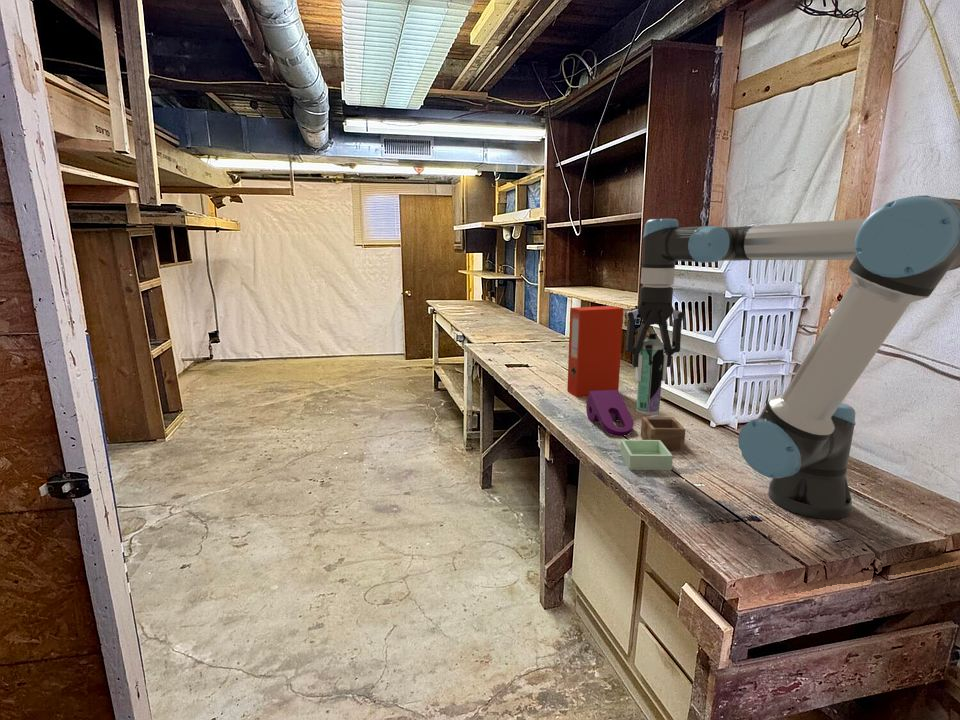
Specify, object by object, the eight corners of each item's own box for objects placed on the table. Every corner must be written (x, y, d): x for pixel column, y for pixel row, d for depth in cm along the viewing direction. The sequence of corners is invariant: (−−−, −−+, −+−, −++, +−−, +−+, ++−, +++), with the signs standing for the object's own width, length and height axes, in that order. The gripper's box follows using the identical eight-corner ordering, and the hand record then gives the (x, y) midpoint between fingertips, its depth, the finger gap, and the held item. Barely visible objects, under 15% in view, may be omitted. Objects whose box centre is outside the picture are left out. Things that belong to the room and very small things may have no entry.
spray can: (660, 415, 127) (666, 335, 122) (637, 414, 128) (642, 334, 123) (657, 408, 132) (663, 331, 127) (635, 407, 133) (640, 331, 128)
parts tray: (671, 470, 127) (672, 455, 127) (629, 469, 128) (630, 455, 127) (659, 453, 138) (660, 440, 137) (619, 453, 138) (620, 439, 137)
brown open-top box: (683, 450, 139) (685, 429, 138) (650, 449, 140) (651, 429, 138) (669, 434, 151) (671, 414, 150) (638, 433, 152) (640, 414, 150)
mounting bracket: (631, 450, 155) (612, 408, 169) (638, 430, 150) (618, 389, 164) (601, 452, 154) (584, 410, 168) (607, 432, 148) (589, 390, 162)
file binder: (618, 393, 192) (623, 308, 185) (577, 397, 187) (580, 310, 180) (607, 387, 200) (611, 305, 193) (567, 391, 195) (569, 307, 188)
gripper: (690, 284, 126) (682, 375, 131) (614, 284, 127) (609, 375, 132) (701, 287, 119) (692, 383, 124) (621, 287, 119) (616, 383, 125)
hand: (650, 379), depth 128 cm, fingers closed on spray can, 5 cm apart
